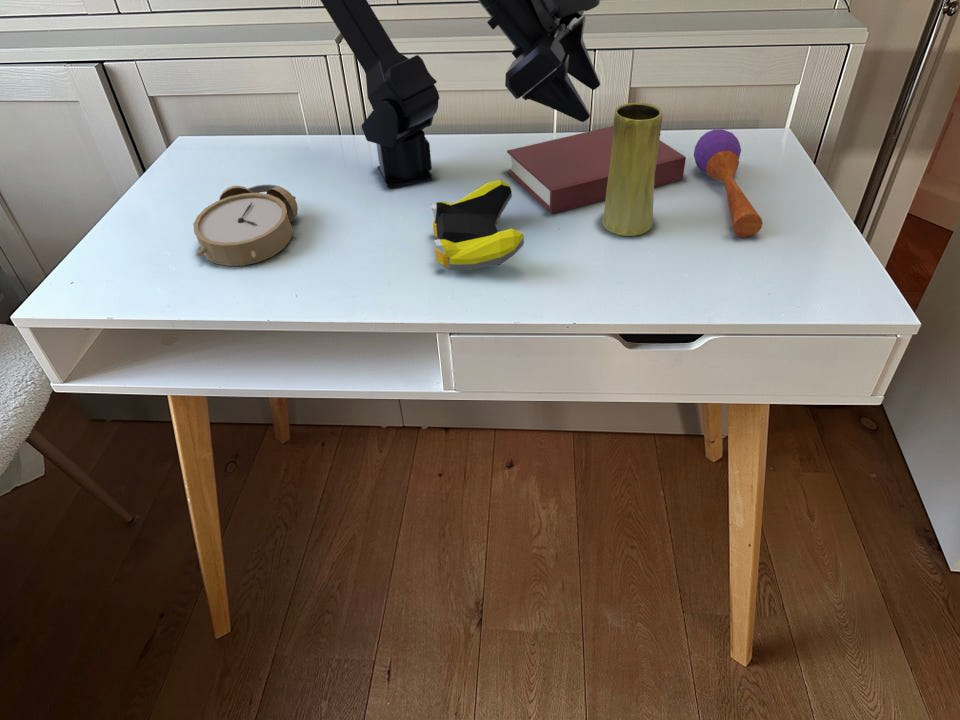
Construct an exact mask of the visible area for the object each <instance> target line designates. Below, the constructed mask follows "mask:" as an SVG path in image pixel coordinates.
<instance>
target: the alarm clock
mask: <svg viewBox="0 0 960 720" xmlns="http://www.w3.org/2000/svg"><path fill="white" fill-rule="evenodd" d="M296 198H297V197H296V196H295V195H293V194H292V193H291V192H290V191H289V190H287V189H285V188H284V187H282V186H280V185H276V184H259V185H258V184H257V185H254V186H251V187H248V188H247V187H245V186H243V185H232V186H229V187H227V188H225V189H224V190H223V191H222V192H221V194H220V196H219V199H218V200H217V201H215V202H213V203H211V204H210V205H208V206H207V207H205V208H204V209H202V211H201V212H199V214H198V215H197V217H196V218H195V220H194V222H193V233H194V235H195V236H196V239H197V241H198V244H199V247H200V249H199V250H198V251H197V252H196V253H195V255H196V256H197V257H200V256H202V255H203V256H205V258H206V259H207V260H208V261H210V262H212V263H214V264H216V265H220V266H226V267H240V266H241V267H242V266H248V265H252V264H257V263H260V262H263V261H265V260H267V259H269V258H272V257H274V256H275V255H277V254H278V253H280V252H281V251H283V250H284V249H285V248H286V246H287V245H288V244H289V242H290V241H291V240H292V236H293V233H294V231H293V227H292V223H291V222H293V221H294V220H295V218H297V215H298V211H299V210H298V209H299V208H298V203H297V200H296Z"/></svg>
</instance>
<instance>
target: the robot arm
mask: <svg viewBox="0 0 960 720" xmlns="http://www.w3.org/2000/svg"><path fill="white" fill-rule="evenodd" d="M320 2H321V4H322V6H323V7H324V8H325V10H326V12H327V13H328V16H329V17H330V18H331V20H332V21H333V23H334V25H335V26H336V28H337V29H338V31H339V33H340V34H341V36H342V38H343V39H344V41H345V42H346V44H347V46H348V47H349V49H350V50H351V52H352V53H353V56H355V58H356V60H357V61H358V64H359V65H360V66H361V68H362V69H363V72H364V73H365V82H366V83H365V84H366V95H367V100H368V102H369V104H370V106H371V108H372V111H371V112H370V114H369V115H368V116H367V118H366V119H365V120H364V121H363V123H362V124H361V130H362V133H363V135H364V137H365V139H366V141H367V142H369V143H373V144H376V151H377V157H378V164H379V165H377V172H378V174H379V176H380V177H381V179H382V181H383V183H384V184H385V187H386V188H387V189H392V188H397V187H402V186H408V185H411V184H418V183H422V182H427V181H431V180H433V175H432V174H431V170H432V169H433V167H432V158H431V157H432V155H431V146H430V142H429V140H428V139H427V137H426V134H425V131H424V130H425V129H426V128H428V127H431V126H432V125H433V121H434V117H435V115H436V114H437V112H438V109H439V100H440V94H439V90H438V89H437V87H436V85H435V84H437V80H436V79H435V78H434V77H433V76H432V74H431V73H430V72H429V70H428V68H427V66H426V64H425V62H424V60H423V58H421V56H420V55H418V54H416V55H414V56H412V57H410V58H408V57H407V56H405V54H403V53H401V52H400V51H398V49H397V48H396V46H395V45H394V42H393V41H392V39H391V37H390V36H389V34H388V33H387V31H386V30H385V28H384V26H383V25H382V22H380V20H379V18H378V16H377V15H376V13H375V12H374V10H373V9H372V7H371V5H370V3H369V2H368V0H320ZM477 2H478V3H479V4H480V5H481V6H482V8H483V9H484V10H485V12H486V13H487V14H488V15H489V19H488V20H487V21H486V23H487V25H488V26H489V27H490V28H491V29H492V30H494V29H496V28H497V27H498V28H499V29H500V30H501V31H502V33H503V35H504V36H506V38H507V39H508V41H509V42H510V43H511V44H512V46H513V47H514V48H513V49H512V51H511V54H512V55H513V57H514V58H515V59H514V60H512V62H511V64H510V65H509V67H508V69H507V71H506V73H505V82H504V86H505V88H506V89H507V90H508V91H509V93H510V94H511V95H512V96H513V97H514V98H515V100H519V99H520V98H522V99H523V100H524V101H527V100H530V101H532V102H535V103H538V104H541V105H543V106H546V107H548V108H550V109H553V110H555V111H557V112H559V113H562V114H564V115H565V116H567V117H569V118H572V119H574V120H577V121H579V122H581V123H585V121H588V120H589V119H590V118H591V114H590V112H589V110H588V108H587V106H586V104H585V102H584V101H583V99H582V97H581V96H580V94H579V92H578V90H577V89H576V87H575V85H574V84H573V82H572V80H571V78H570V76H571V77H573V78H574V79H576V80H577V81H578V82H580V83H581V84H583V85H584V86H585V87H587V88H589V89H591V90H592V91H595V90H596V89H597V88H599V87H600V86H601V81H600V79H599V76H598V74H597V71H596V69H595V66H594V64H593V62H592V59H591V56H590V55H589V52H588V49H587V46H586V44H585V41H584V31H585V24H586V20H587V19H586V15H584V12H587V11H590V10H592V9H594V8H596V7H598V6H599V5H600V4H601V0H477ZM583 15H584V16H583ZM575 18H576V19H577V21H576V22H575V21H574V19H575ZM569 75H570V76H569Z"/></svg>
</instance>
